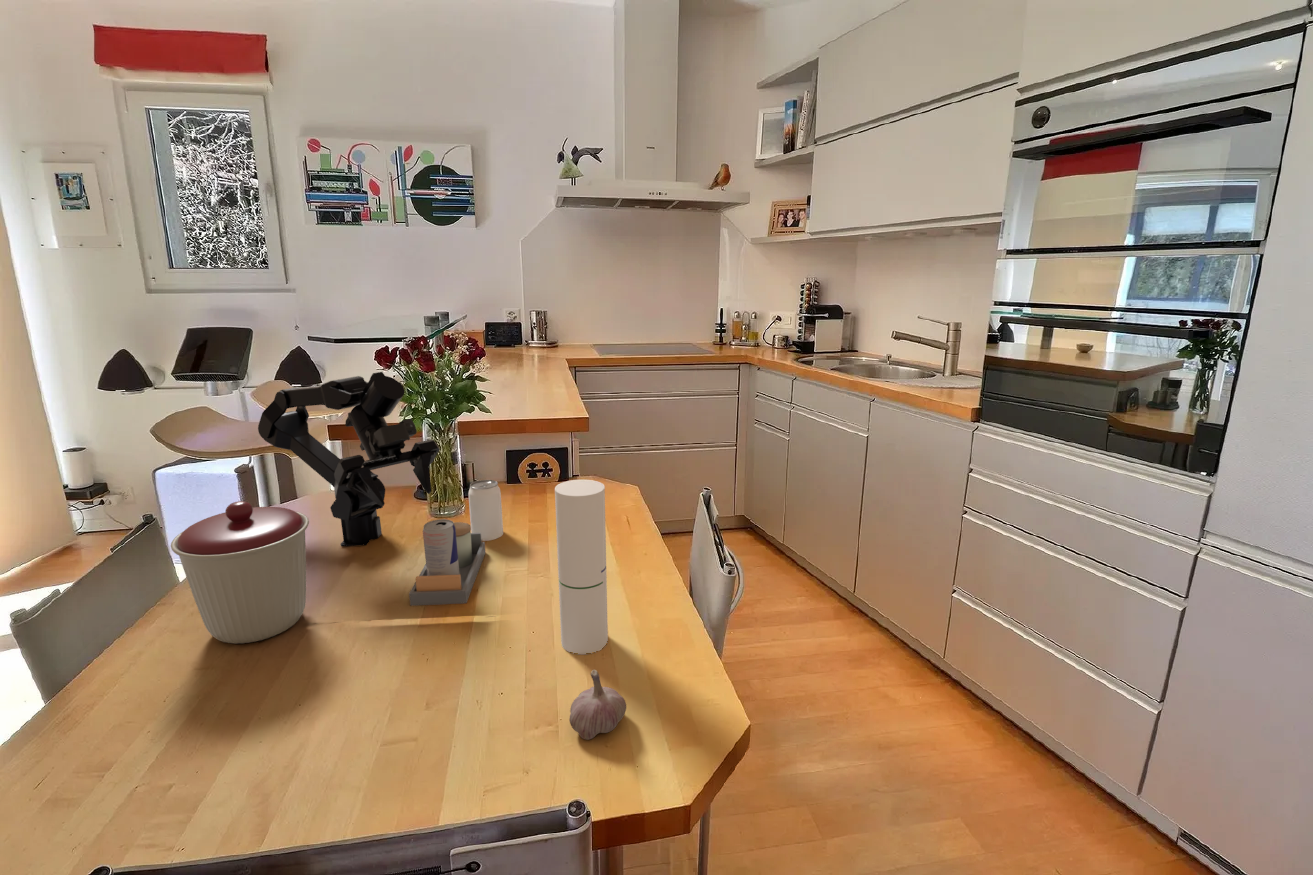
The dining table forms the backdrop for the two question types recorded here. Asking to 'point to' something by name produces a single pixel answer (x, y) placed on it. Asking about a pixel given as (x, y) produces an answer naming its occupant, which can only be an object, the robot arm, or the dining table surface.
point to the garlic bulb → (596, 710)
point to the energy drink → (440, 548)
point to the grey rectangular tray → (467, 580)
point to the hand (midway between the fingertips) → (407, 498)
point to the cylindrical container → (582, 565)
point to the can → (486, 509)
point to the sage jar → (463, 544)
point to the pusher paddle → (438, 583)
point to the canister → (246, 570)
